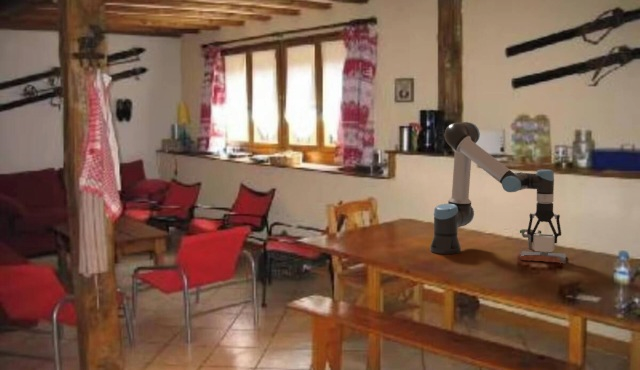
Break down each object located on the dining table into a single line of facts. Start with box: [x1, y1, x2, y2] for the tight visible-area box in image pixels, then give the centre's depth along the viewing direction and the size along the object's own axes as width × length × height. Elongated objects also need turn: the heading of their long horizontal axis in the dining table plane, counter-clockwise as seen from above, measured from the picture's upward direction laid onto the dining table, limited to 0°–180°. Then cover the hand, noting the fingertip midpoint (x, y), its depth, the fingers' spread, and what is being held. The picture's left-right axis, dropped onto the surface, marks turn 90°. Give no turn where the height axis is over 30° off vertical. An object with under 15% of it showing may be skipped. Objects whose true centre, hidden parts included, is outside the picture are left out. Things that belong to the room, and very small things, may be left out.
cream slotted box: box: [534, 232, 554, 253], centre depth 305 cm, size 8×8×7 cm
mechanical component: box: [519, 228, 542, 250], centre depth 326 cm, size 3×10×10 cm, turn 78°
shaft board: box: [520, 250, 567, 265], centre depth 306 cm, size 20×14×6 cm
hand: (543, 249), depth 306 cm, fingers closed on cream slotted box, 8 cm apart
